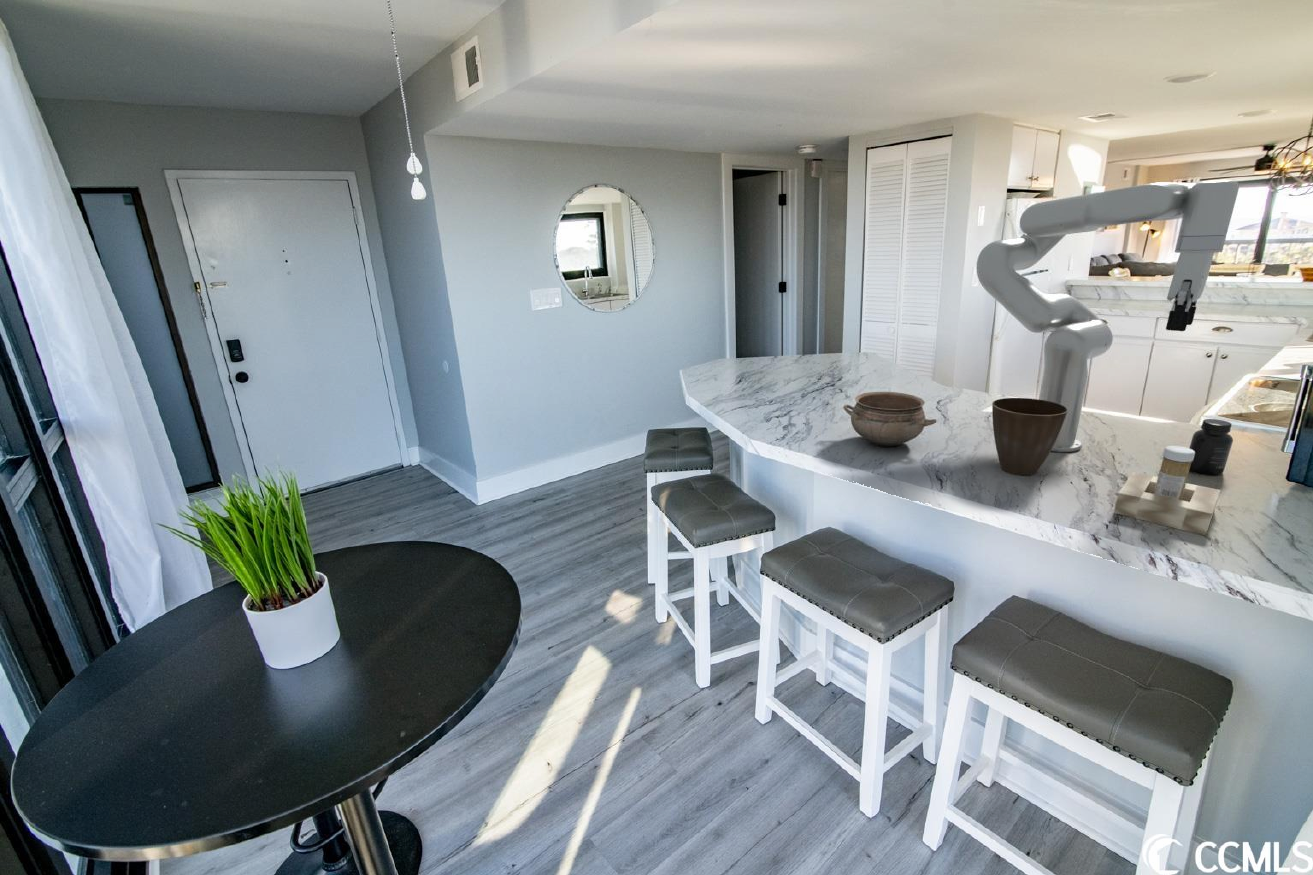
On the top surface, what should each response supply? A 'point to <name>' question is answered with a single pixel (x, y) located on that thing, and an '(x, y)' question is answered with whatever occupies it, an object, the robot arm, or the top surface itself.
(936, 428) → the top surface
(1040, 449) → the plant pot
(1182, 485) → the sprinkles bottle
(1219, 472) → the supplement bottle
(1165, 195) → the robot arm
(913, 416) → the cooking pot
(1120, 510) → the socket block
